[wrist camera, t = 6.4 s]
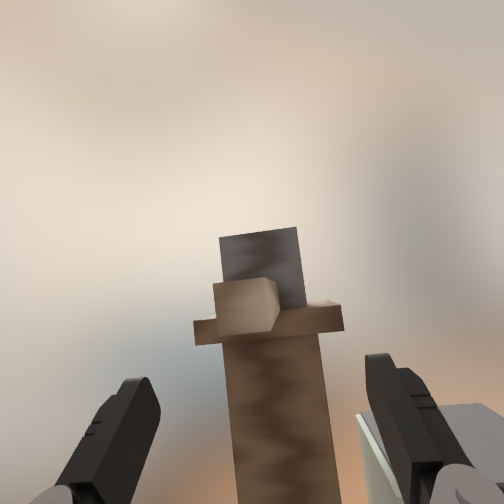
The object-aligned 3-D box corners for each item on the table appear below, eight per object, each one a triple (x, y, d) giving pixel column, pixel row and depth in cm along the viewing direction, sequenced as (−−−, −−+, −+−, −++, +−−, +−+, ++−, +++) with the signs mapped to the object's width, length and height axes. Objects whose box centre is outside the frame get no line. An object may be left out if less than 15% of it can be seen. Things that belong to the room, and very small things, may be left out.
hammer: (169, 341, 14) (158, 195, 15) (236, 311, 31) (228, 244, 32) (322, 325, 13) (300, 173, 14) (304, 303, 30) (295, 235, 31)
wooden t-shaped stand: (234, 789, 21) (193, 320, 25) (250, 652, 29) (216, 312, 33) (416, 801, 20) (340, 304, 24) (380, 654, 28) (328, 300, 32)
